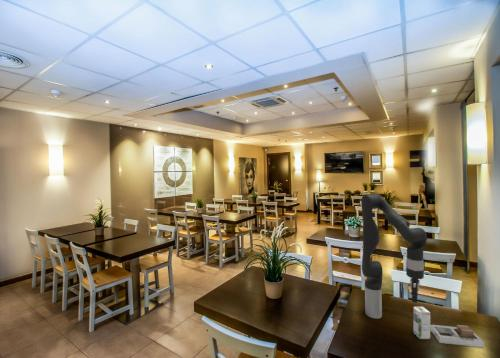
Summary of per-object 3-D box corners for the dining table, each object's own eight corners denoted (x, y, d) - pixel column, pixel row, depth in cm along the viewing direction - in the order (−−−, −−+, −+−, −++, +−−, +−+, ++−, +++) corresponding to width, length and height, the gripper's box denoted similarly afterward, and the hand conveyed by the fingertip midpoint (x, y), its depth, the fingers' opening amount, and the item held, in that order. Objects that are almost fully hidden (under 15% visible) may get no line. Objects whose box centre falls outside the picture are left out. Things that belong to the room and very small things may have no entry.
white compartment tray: (429, 329, 140) (429, 324, 140) (469, 333, 136) (469, 328, 136) (439, 342, 130) (439, 337, 130) (483, 347, 125) (483, 341, 125)
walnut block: (456, 335, 135) (456, 324, 135) (467, 337, 134) (467, 325, 134) (462, 342, 130) (462, 330, 130) (473, 343, 129) (473, 331, 129)
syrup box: (412, 332, 138) (412, 306, 138) (423, 332, 138) (423, 306, 138) (419, 339, 133) (419, 312, 132) (431, 339, 133) (430, 312, 132)
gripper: (407, 261, 136) (407, 290, 137) (405, 270, 124) (405, 302, 125) (423, 264, 132) (423, 294, 132) (423, 273, 120) (423, 307, 121)
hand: (414, 298), depth 129 cm, fingers open, 8 cm apart
